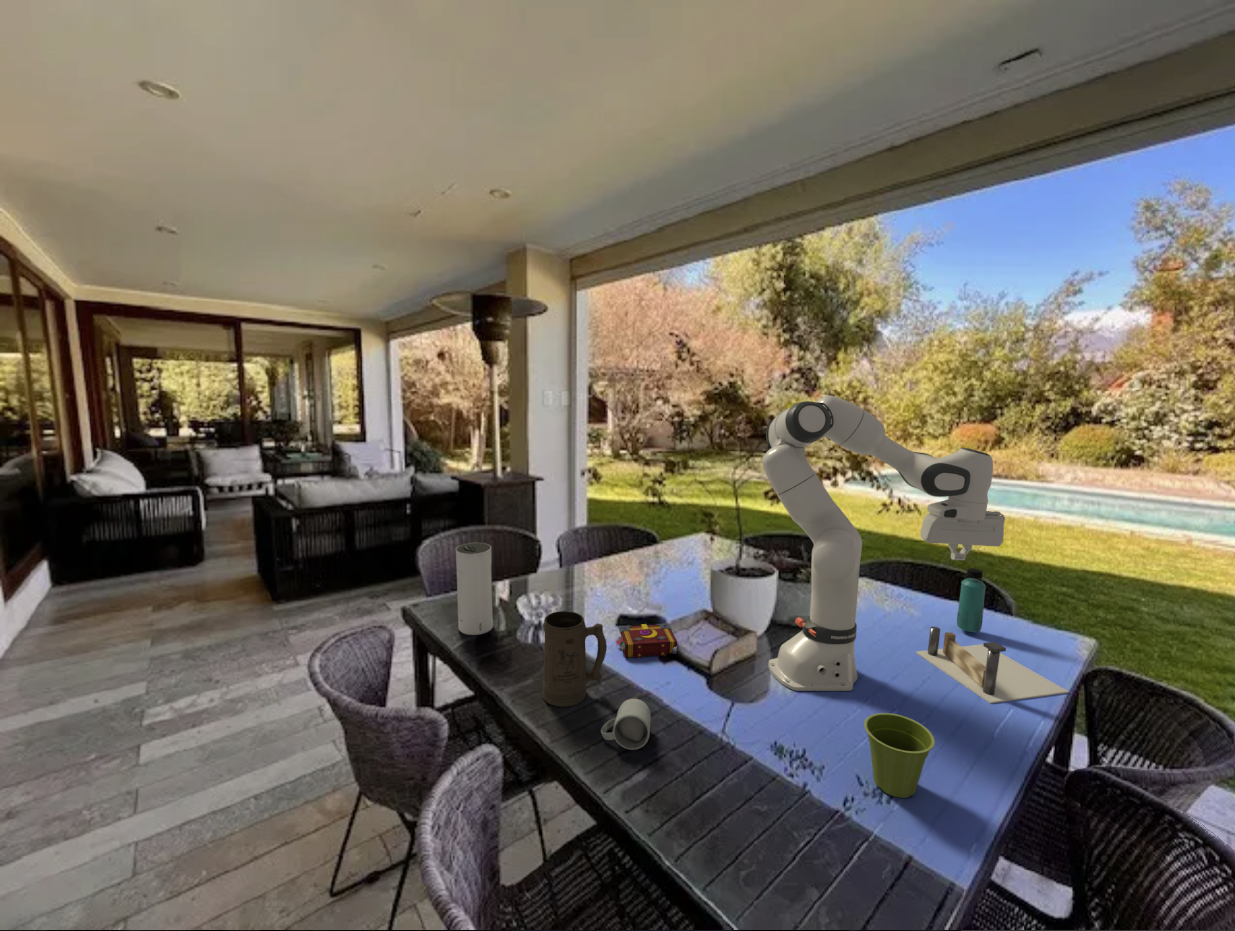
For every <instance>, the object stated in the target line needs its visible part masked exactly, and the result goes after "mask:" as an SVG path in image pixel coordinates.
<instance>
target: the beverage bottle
mask: <svg viewBox="0 0 1235 931" xmlns="http://www.w3.org/2000/svg"><path fill="white" fill-rule="evenodd" d="M983 573H984V572H983V570H982V569H979V568H967V569H966V577H968V578H965V579H963V580H962V581H961V585H960V595H959V599H958V600H959V601H958V606H957V607H958V609H957V617H956V618H957V619H956V624H957V628H959V629H961V630H963V631H966V632H970V633H978V632H981V630H982V627H983V621H984V620H983V618H984V613H985V612H984V611H985V610H984V609H985V606H984V605H985V598H986V597H985V595H986V588H987V585H986V584H985V583H984V582H983V581H982V580H983ZM980 579H982V580H980Z"/></svg>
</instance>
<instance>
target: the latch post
mask: <svg viewBox="0 0 1235 931" xmlns="http://www.w3.org/2000/svg"><path fill="white" fill-rule="evenodd" d="M940 635H941V628H940V627H938V626H930V628H929V637H928V638H929V639H928V646H927V650H928V654H929V655H932V656H937V655H938V649H939V645H940Z"/></svg>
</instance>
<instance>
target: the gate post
mask: <svg viewBox="0 0 1235 931" xmlns="http://www.w3.org/2000/svg"><path fill="white" fill-rule="evenodd" d="M982 644H983V646H984V647H986V648H988V655H987V662H986V670H985V678H984V686H983V692H984V693H986V694H988V695H994V694H995V687H996V679H997V672H998V664H999V657H1000V653H1002V652H1006V651H1007V647H1005V646H1003V645H1001V644H1000V643H997V642H996V641H989V642H983V643H982Z"/></svg>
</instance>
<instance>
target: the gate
mask: <svg viewBox="0 0 1235 931" xmlns="http://www.w3.org/2000/svg"><path fill="white" fill-rule="evenodd" d="M942 649H943V653H944V654H945V655H947V656H948V657H949V658H950V659H951V660H952V661H954V662H955V663H956V664H957V665H958V666H959V667H960V668H961V669H962V670H963V671H965V672H966V673H967V674H968V675H969V676H970V677H971V678H972V679H973V680H974V681H976V682H977V683H978V684H979V685H980V686H981V687H983V686H984V678H985V670H986V667H985V666H984V665H983V664H982V663H980V662H979V661H978V660H977V659H976V658H974V657H973V656H972V655H971V654H970V653H969V652H967V651H966V650H965V649H964V648H963V646H961V645H960V643H958V642H957V640H956V634H955V633H954V632H945V633H944V638H943V646H942Z"/></svg>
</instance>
